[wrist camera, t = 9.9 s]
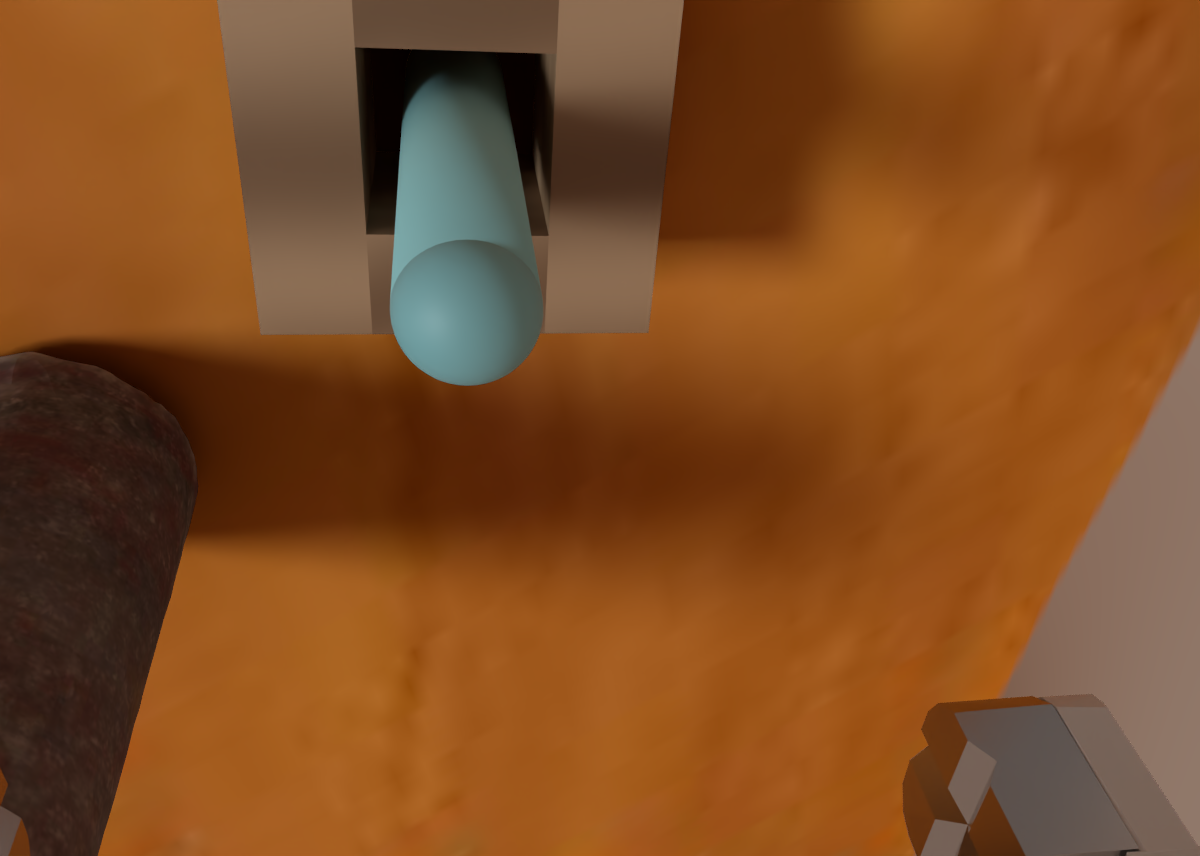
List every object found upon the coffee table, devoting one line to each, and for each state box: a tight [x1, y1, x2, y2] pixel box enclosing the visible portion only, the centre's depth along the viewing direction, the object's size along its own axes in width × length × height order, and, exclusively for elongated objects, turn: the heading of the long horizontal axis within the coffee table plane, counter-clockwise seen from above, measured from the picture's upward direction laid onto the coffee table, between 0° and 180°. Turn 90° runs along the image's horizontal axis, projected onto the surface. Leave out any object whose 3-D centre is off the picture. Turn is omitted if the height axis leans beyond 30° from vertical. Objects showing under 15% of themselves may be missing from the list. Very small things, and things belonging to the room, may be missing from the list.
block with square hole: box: [217, 0, 684, 335], centre depth 24 cm, size 9×9×5 cm
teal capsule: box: [390, 49, 543, 386], centre depth 21 cm, size 2×2×13 cm
